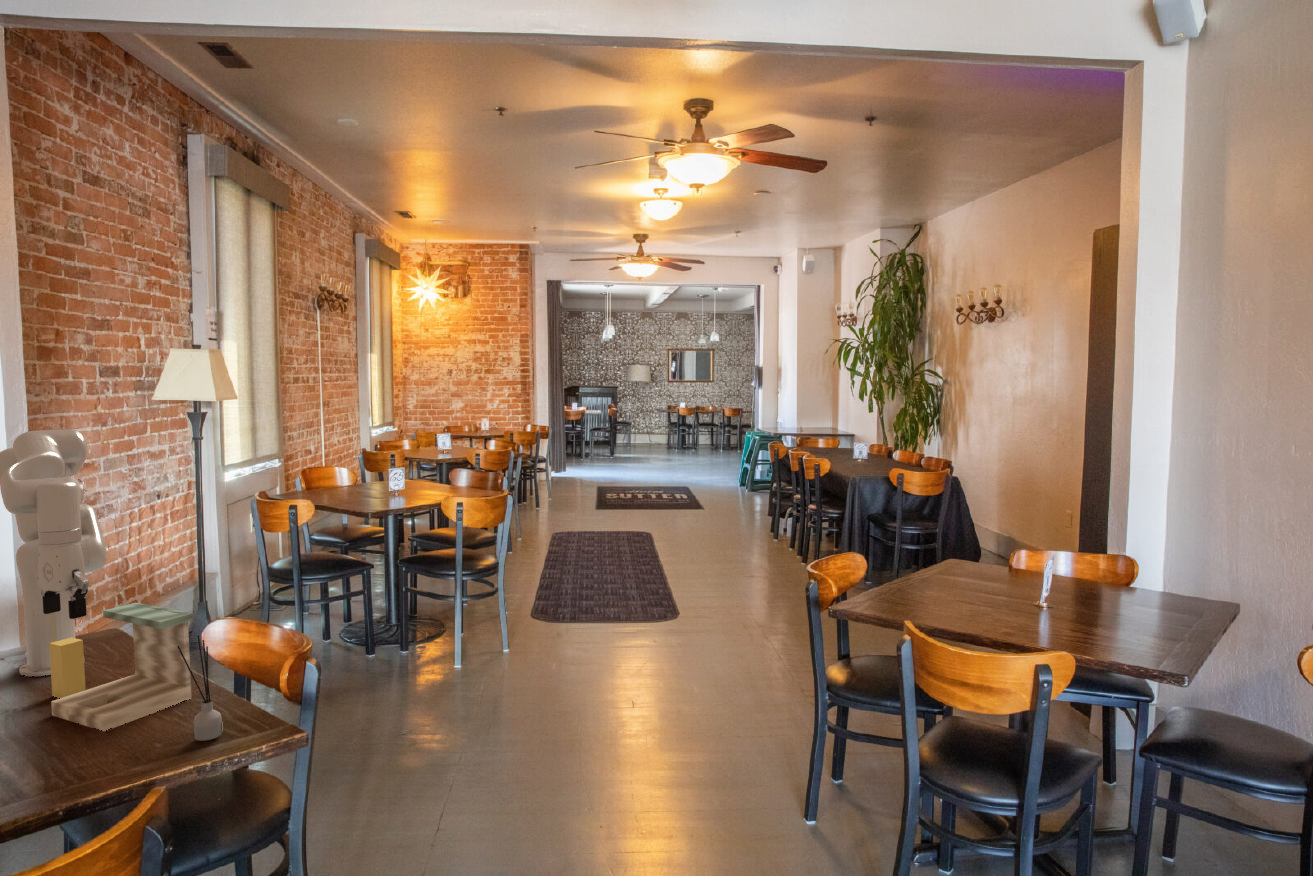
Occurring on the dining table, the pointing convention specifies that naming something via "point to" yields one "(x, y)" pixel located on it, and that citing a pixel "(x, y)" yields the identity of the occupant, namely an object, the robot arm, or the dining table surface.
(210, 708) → the reed diffuser
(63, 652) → the peg
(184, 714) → the dining table surface
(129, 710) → the green-topped stand
